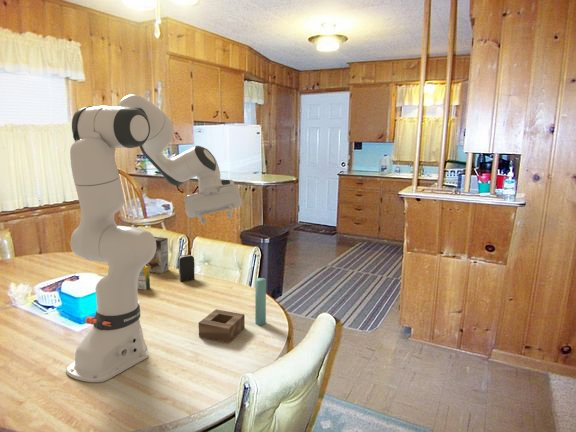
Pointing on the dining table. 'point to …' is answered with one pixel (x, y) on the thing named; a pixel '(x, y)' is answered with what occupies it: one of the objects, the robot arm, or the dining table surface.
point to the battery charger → (186, 267)
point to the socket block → (221, 326)
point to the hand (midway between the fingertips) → (216, 220)
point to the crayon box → (144, 279)
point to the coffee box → (159, 256)
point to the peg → (260, 301)
